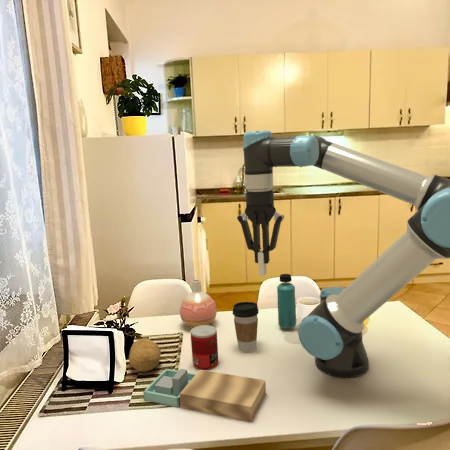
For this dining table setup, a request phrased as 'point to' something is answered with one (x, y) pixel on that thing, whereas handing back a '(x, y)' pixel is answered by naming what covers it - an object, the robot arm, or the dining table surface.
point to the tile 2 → (179, 381)
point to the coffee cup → (246, 325)
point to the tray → (164, 398)
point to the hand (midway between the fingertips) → (262, 274)
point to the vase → (197, 307)
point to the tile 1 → (164, 385)
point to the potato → (144, 355)
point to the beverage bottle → (286, 302)
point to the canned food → (204, 347)
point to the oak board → (224, 395)
